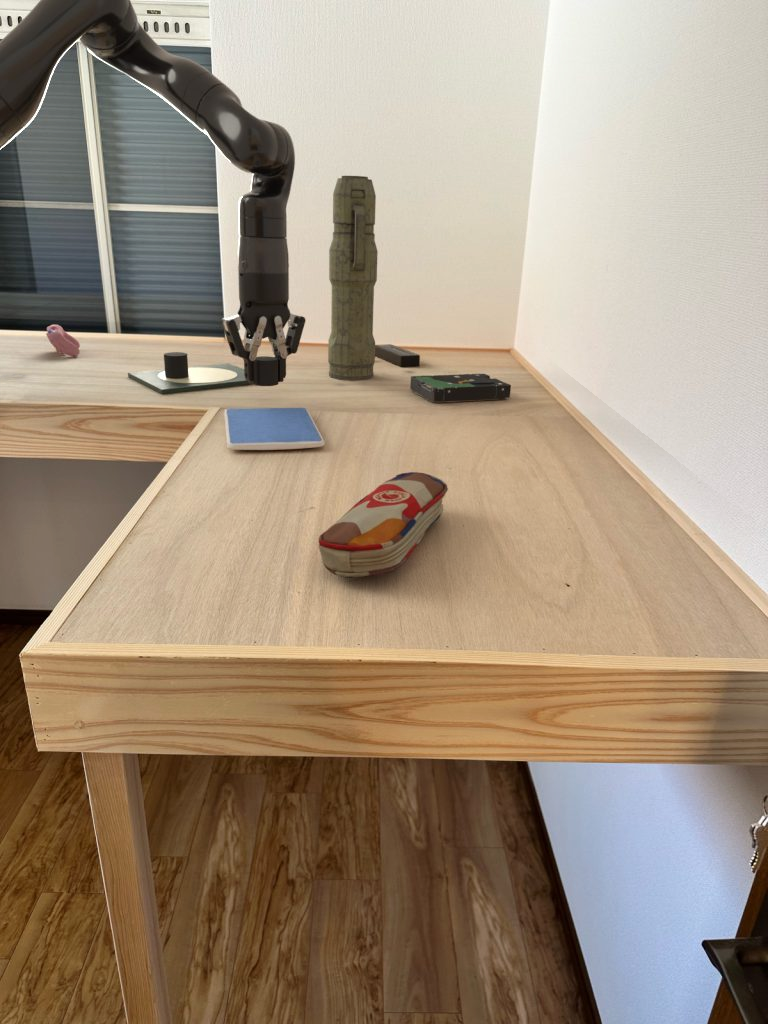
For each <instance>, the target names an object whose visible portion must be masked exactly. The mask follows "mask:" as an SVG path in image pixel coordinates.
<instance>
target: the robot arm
mask: <svg viewBox="0 0 768 1024" xmlns="http://www.w3.org/2000/svg"><path fill="white" fill-rule="evenodd" d="M78 41H80V42H81V44H82V46H83V47H84V48H85V49H86V50H87V51H88V52H89V53H90V54H91V55H93V56H94V57H95V58H97V59H98V60H100V61H102V62H103V63H105V64H107V65H108V66H110V67H112V68H114V69H116V70H118V71H119V72H121V73H123V74H125V75H126V76H128V77H130V78H131V79H132V80H135V81H136V82H137V83H139V84H141V85H142V86H144V87H146V88H147V89H149V90H150V91H151V92H153V93H154V94H156V95H157V96H159V97H160V98H161V99H163V100H164V101H165V102H166V103H168V104H169V105H170V106H171V107H172V108H174V109H175V110H176V111H177V112H179V113H180V115H182V116H183V117H184V118H185V119H187V120H188V121H189V122H190V123H192V124H193V125H194V126H195V127H196V128H197V129H198V130H199V131H201V132H203V133H204V134H205V135H207V136H208V138H209V139H210V141H211V142H212V143H213V145H214V146H215V147H216V148H217V149H218V151H219V152H220V153H221V155H222V156H224V158H225V159H227V160H228V161H229V163H231V164H232V165H233V166H235V167H236V168H237V169H239V170H240V171H243V172H245V173H248V174H251V175H252V177H251V184H250V190H249V192H247V193H245V194H243V195H242V196H241V197H240V198H239V200H238V209H237V211H238V213H237V215H238V245H237V269H238V270H237V271H238V273H237V274H238V278H237V279H238V300H239V308H238V310H237V314H235V315H233V316H230V317H223V318H222V319H221V321H220V323H221V326H222V328H223V332H224V335H225V337H226V340H227V343H228V346H229V349H230V353H231V354H232V355H233V356H235V357H239V358H241V359H242V360H243V369H244V377H245V379H246V380H247V381H248V383H249V384H250V385H252V386H257V385H256V384H258V362H257V361H255V359H256V357H258V352H259V348H260V347H261V344H262V341H263V340H264V339H266V338H267V339H268V342H269V343H270V345H271V349H272V354H273V355H274V357H275V358H278V383H283V382H284V379H285V378H286V376H287V358H288V357H289V356H290V355H292V354H296V353H297V352H298V349H299V346H300V343H301V338H302V335H303V331H304V327H305V325H306V322H307V321H306V317H305V316H303V315H298V314H293V313H291V310H290V308H289V305H288V303H289V300H290V278H289V277H290V275H289V272H290V270H289V269H290V260H289V259H290V257H289V247H288V236H287V235H288V232H287V231H288V223H287V222H288V221H287V207H288V202H289V199H290V195H291V189H292V184H293V179H294V173H295V167H296V166H295V165H296V150H295V146H294V142H293V139H292V136H291V134H290V133H289V131H288V130H287V129H286V128H285V127H284V126H282V125H280V124H279V123H276V122H272V121H268V120H265V119H261V118H258V117H257V116H255V115H253V114H252V113H250V112H249V111H248V110H247V109H245V108H244V107H243V104H242V101H241V99H240V98H239V96H238V95H237V94H236V92H235V91H233V90H232V89H231V88H230V87H229V86H227V85H226V84H225V83H224V82H223V81H221V80H220V79H219V78H218V77H217V76H216V75H214V74H213V73H212V72H211V71H209V70H208V69H207V68H205V67H204V66H203V65H201V64H199V63H198V62H196V61H194V60H192V59H190V58H187V57H183V56H181V55H180V56H179V55H175V54H173V53H170V52H168V51H167V50H165V49H164V48H163V47H161V45H159V44H158V43H157V42H156V41H155V40H154V39H153V38H152V37H151V35H149V33H147V31H146V30H145V28H143V26H142V25H141V24H140V22H139V19H138V17H137V13H136V11H135V8H134V7H133V4H132V1H131V0H39V1H38V2H37V3H36V5H35V6H34V7H33V8H32V9H31V10H30V11H29V13H27V15H26V16H25V17H24V18H23V19H22V20H21V21H20V22H19V23H18V24H17V25H16V26H15V27H14V28H13V29H12V30H10V31H9V33H7V34H6V35H5V36H4V37H3V38H2V39H1V40H0V150H1V149H2V148H4V147H5V146H6V145H8V144H9V143H10V142H11V141H12V140H14V139H15V137H17V136H18V135H19V134H20V133H21V132H22V131H23V130H25V128H27V127H28V126H29V125H30V124H31V123H32V121H33V120H34V119H35V117H36V116H37V114H38V112H39V110H40V109H41V106H42V104H43V101H44V99H45V97H46V93H47V90H48V88H49V84H50V81H51V78H52V76H53V74H54V71H55V69H56V67H57V65H58V63H59V62H60V60H61V59H62V58H63V56H64V55H65V54H66V53H67V51H68V50H69V49H70V48H71V47H73V45H75V43H76V42H78ZM241 325H242V326H243V328H244V330H245V331H244V335H243V340H242V338H241V335H240V332H239V331H240V330H241ZM286 325H287V326H288V328H287V331H286V335H285V331H284V328H285V326H286Z"/></svg>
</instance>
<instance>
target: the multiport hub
mask: <svg viewBox="0 0 768 1024" xmlns="http://www.w3.org/2000/svg"><path fill="white" fill-rule="evenodd" d="M376 357H377V359H378V358H379V359H381V360H382V361H385V362H388V363H390V364H393V365H395V366H397V367H399V368H408V367H409V368H411V367H412V368H415V367H420V363H421V362H420V361H421V354H418V353H415V352H413V351H410V350H408V349H404V348H402V347H400V346H397V345H394V344H390V343H389V344H388V343H387V344H386V343H385V344H375V358H376Z"/></svg>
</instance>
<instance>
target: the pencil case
mask: <svg viewBox="0 0 768 1024" xmlns="http://www.w3.org/2000/svg"><path fill="white" fill-rule="evenodd" d="M448 490H449V487H448V485H447V483H446V482H445V481H443V480H442V479H440V478H439V477H436V476H434V475H431V474H429V473H424V472H420V471H419V472H418V471H411V472H402V473H399V474H397V475H395V477H393V478H390V479H388V480H385V481H384V482H382V483H381V484H379V485H378V486H377V487H376V488H375V489H374V490H372V491H371V492H369V493H368V494H366V495H365V496H364V497H363V498H361V499H360V500H358V501H357V502H356V503H355V504H354V505H353V506H352V507H351V508H350V509H349V510H348V511H347V512H345V514H344V515H343V516H342V517H340V518H339V519H338V520H337V521H336V522H335V523H333V524H332V525H331V526H330V527H328V529H326V530H325V531H324V532H322V533H321V534H320V535H319V536H318V549H319V553H320V556H321V563H322V564H323V565H322V566H323V567H324V568H325V569H326V570H328V572H330V573H331V574H333V575H335V576H337V577H344V578H346V579H348V580H349V579H350V580H351V579H357V578H363V577H368V576H373V575H379V574H384V573H388V572H391V571H393V570H396V569H398V568H401V567H402V566H403V565H404V564H405V562H406V561H408V559H409V558H410V556H411V555H412V553H413V552H414V550H415V548H416V547H417V546H418V544H420V543H421V540H422V539H423V537H424V536H425V534H426V533H427V532H428V531H429V529H430V528H431V527H432V526H433V525H434V524H435V523H436V522H437V521H438V520H439V519H440V518H441V516H442V514H443V513H444V504H443V499H444V497H445V496H446V493H447V492H448Z"/></svg>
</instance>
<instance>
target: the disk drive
mask: <svg viewBox="0 0 768 1024" xmlns="http://www.w3.org/2000/svg"><path fill="white" fill-rule="evenodd" d="M511 387H512V385H511V384H510V383H507V382H505V381H502V380H500V379H498V378H495V377H494V378H491V376H490V375H488V374H486V373H471V374H470V373H463V374H433V375H414V376H410V387H409V389H410V390H411V391H412V392H413V393H414V394H417V395H419V396H420V397H422V398H424V399H425V400H428V401H429V402H432V403H459V402H480V401H496V400H504V399H510V398H511V391H512V388H511Z"/></svg>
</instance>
